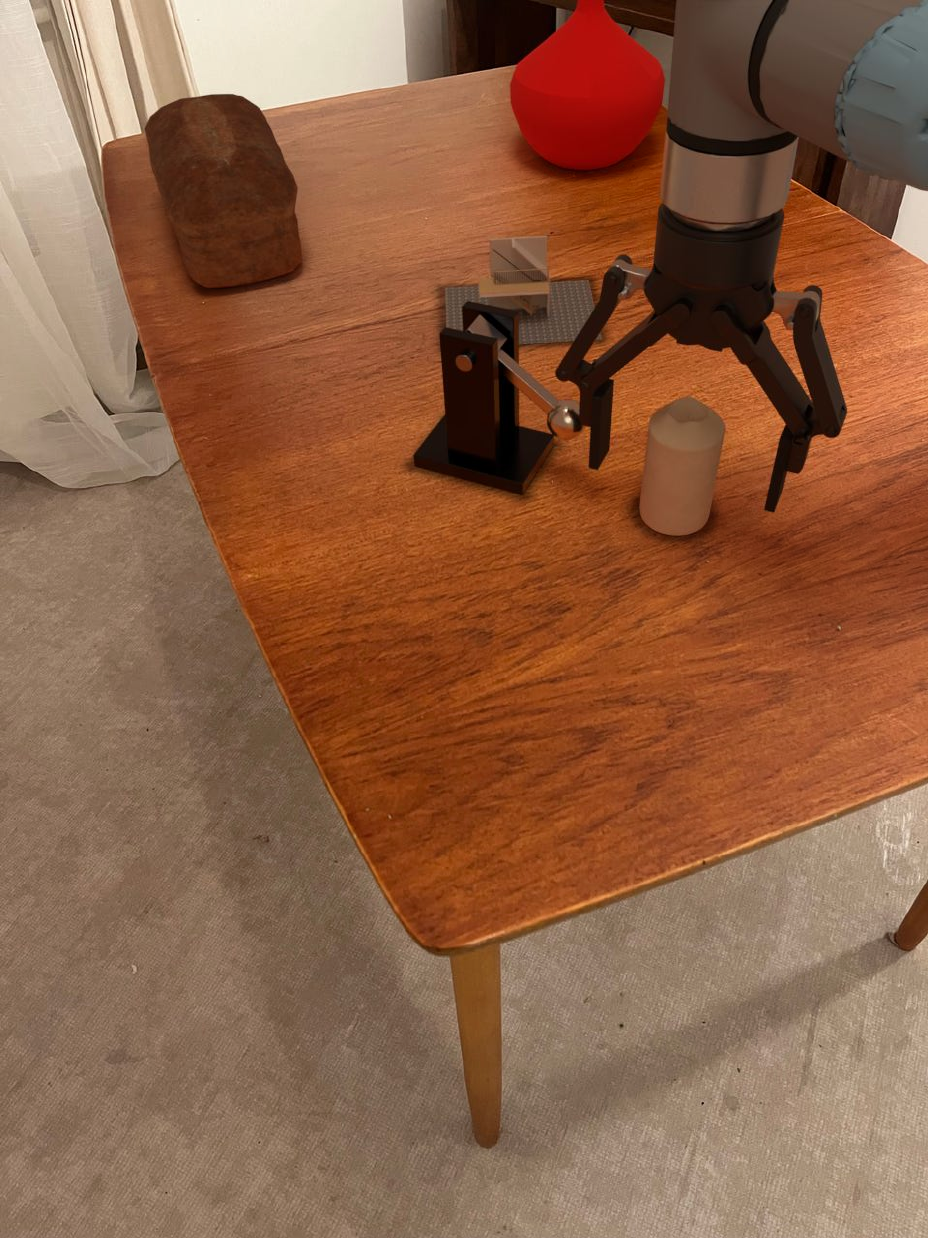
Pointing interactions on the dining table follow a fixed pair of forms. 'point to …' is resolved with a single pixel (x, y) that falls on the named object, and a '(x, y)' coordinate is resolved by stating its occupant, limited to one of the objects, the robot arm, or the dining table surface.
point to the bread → (225, 189)
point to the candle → (681, 466)
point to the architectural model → (526, 293)
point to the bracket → (482, 409)
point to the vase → (587, 92)
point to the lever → (534, 388)
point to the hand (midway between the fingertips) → (683, 479)
